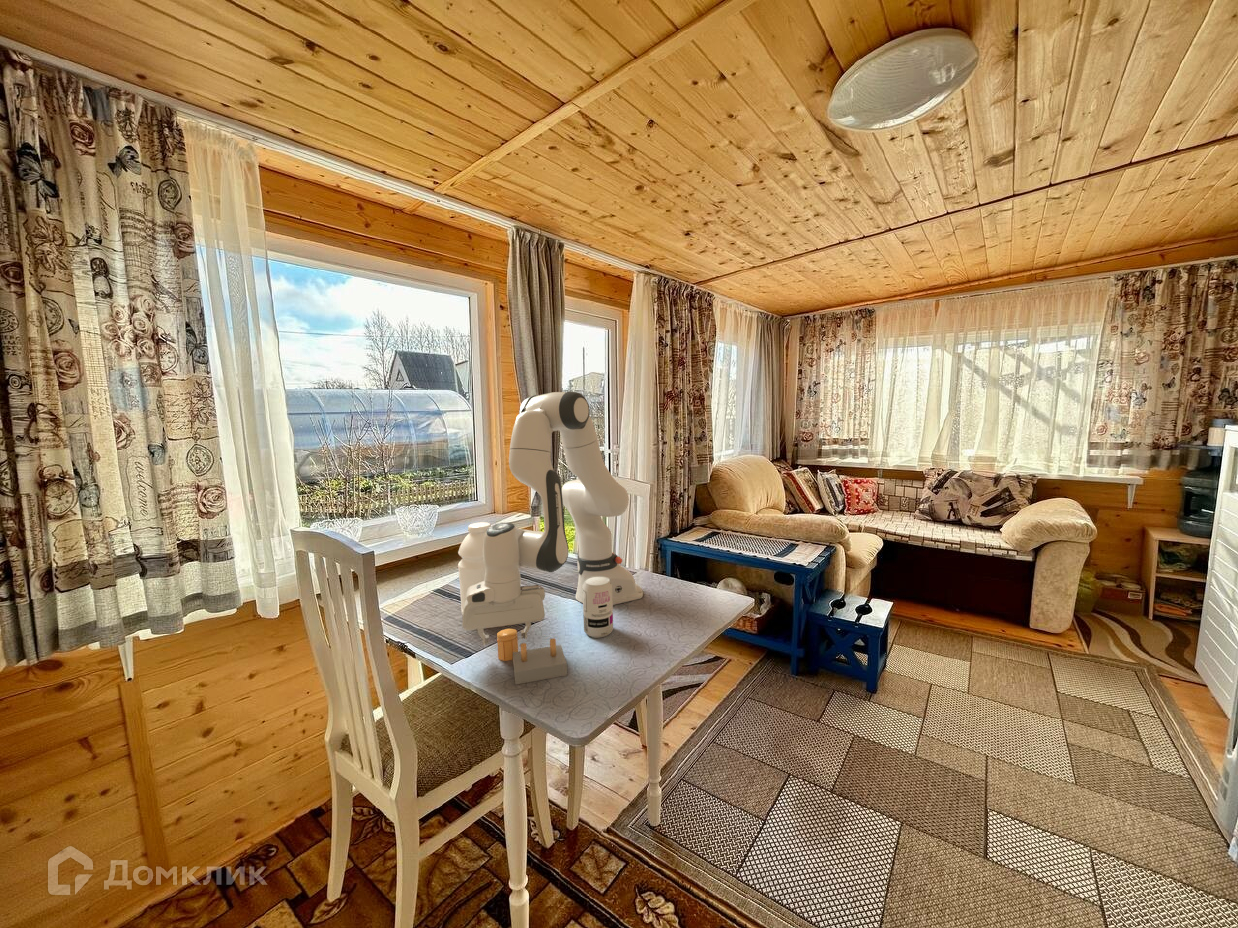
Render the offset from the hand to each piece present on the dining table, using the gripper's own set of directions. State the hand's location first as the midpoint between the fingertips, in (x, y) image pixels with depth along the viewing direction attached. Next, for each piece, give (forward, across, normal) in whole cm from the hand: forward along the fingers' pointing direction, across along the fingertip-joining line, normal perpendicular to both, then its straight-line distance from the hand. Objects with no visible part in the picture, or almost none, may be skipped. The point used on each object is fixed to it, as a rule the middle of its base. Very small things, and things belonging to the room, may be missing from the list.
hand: (505, 640), depth 118 cm
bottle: (+4, +6, -29) cm, 30 cm away
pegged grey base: (+4, -8, +9) cm, 12 cm away
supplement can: (+4, -26, -5) cm, 26 cm away
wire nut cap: (+4, -1, 0) cm, 4 cm away
